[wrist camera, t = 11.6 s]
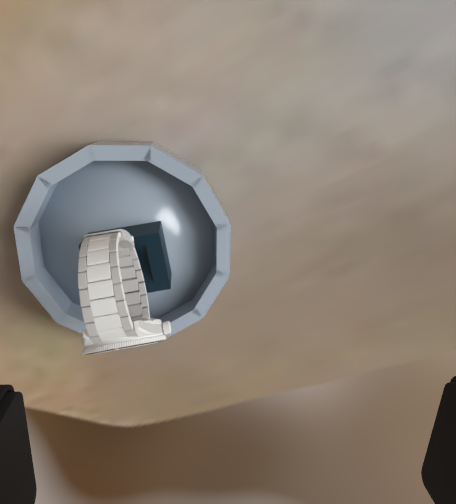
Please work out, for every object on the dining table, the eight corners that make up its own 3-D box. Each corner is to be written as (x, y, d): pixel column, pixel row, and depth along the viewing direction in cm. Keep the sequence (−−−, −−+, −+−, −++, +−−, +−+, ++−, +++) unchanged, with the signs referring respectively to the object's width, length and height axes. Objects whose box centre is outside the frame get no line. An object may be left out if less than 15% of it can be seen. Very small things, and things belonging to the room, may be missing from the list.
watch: (107, 306, 34) (75, 395, 24) (81, 210, 31) (32, 262, 21) (177, 294, 34) (175, 377, 24) (157, 197, 31) (145, 243, 21)
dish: (16, 141, 30) (0, 144, 27) (227, 142, 31) (232, 146, 29) (43, 329, 35) (32, 347, 32) (225, 322, 36) (228, 339, 34)
